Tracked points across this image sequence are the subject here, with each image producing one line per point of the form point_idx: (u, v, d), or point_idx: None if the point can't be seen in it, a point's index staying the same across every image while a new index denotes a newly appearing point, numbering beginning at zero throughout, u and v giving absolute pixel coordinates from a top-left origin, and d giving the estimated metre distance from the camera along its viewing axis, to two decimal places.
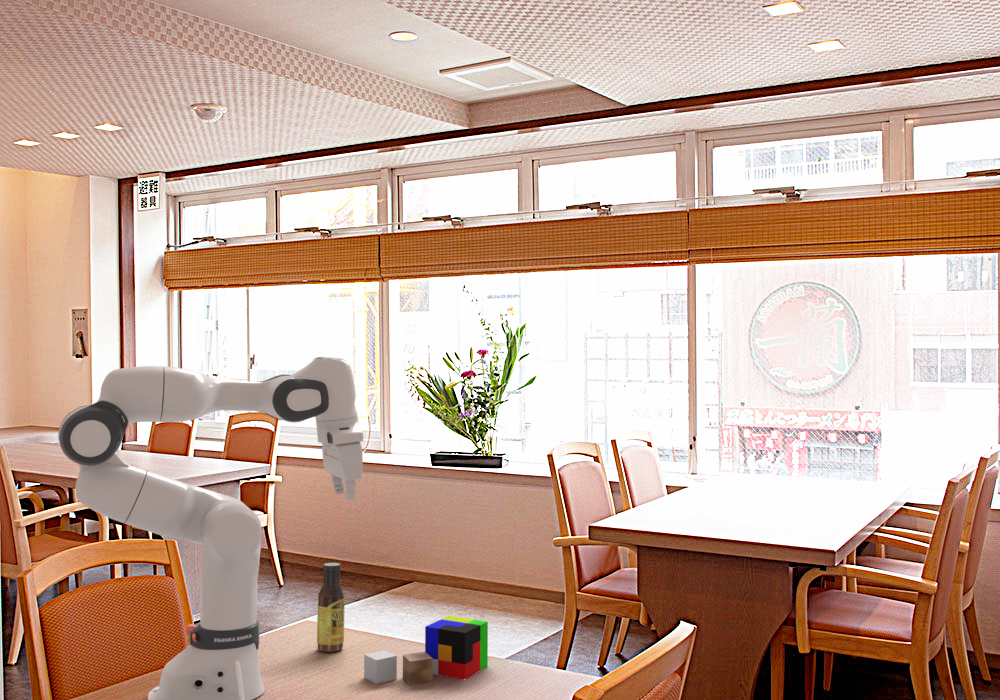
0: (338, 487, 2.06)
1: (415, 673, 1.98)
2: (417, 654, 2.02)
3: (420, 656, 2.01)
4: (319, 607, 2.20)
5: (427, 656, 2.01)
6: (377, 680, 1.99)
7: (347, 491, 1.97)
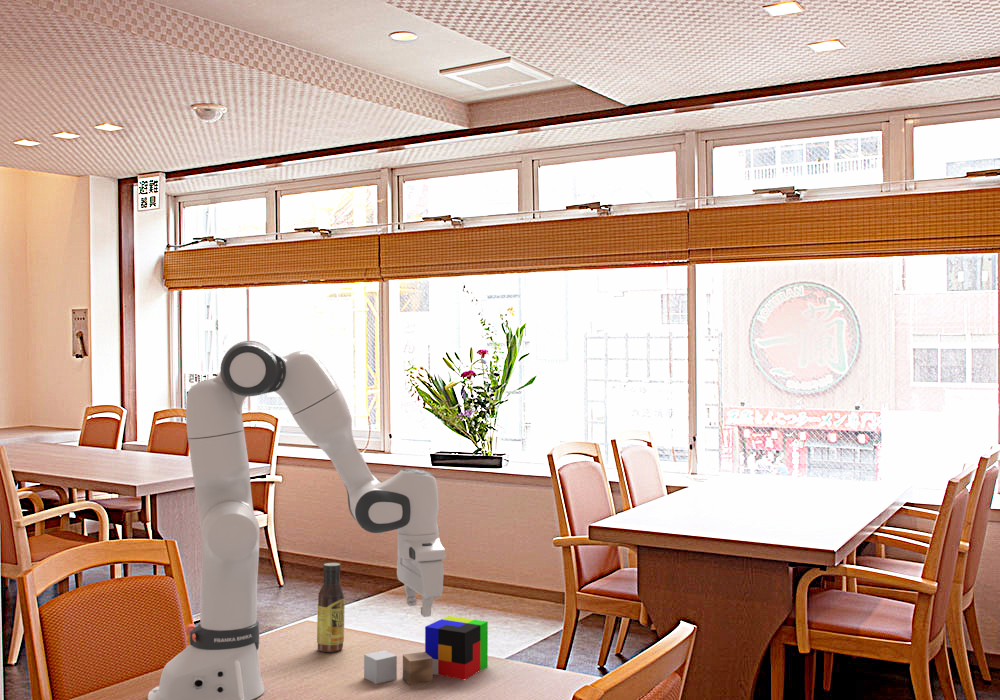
0: (411, 599, 2.05)
1: (415, 673, 1.98)
2: (417, 654, 2.02)
3: (420, 655, 2.01)
4: (319, 607, 2.20)
5: (427, 656, 2.01)
6: (377, 680, 1.99)
7: (424, 608, 1.96)
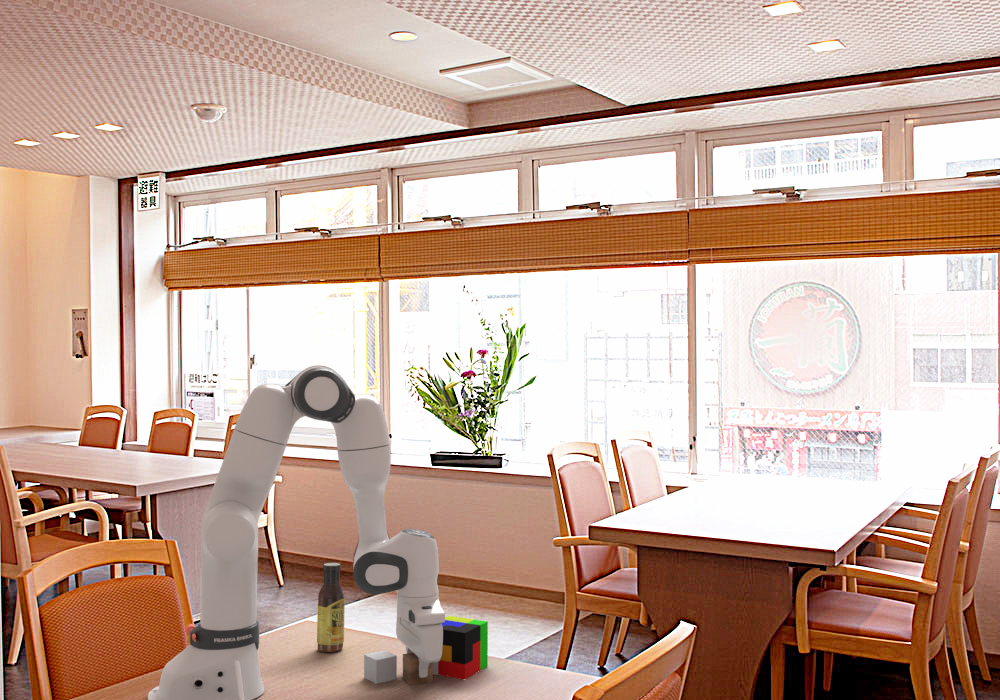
0: None
1: (415, 672, 1.98)
2: None
3: None
4: (319, 607, 2.20)
5: None
6: (377, 680, 1.99)
7: (420, 668, 1.97)
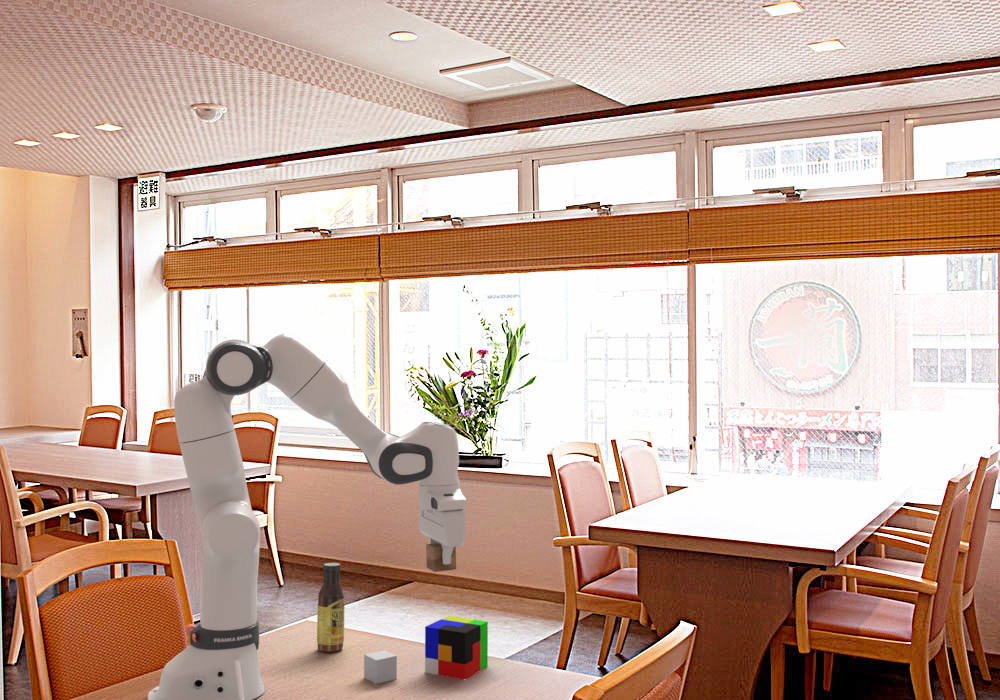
0: None
1: (439, 560, 2.02)
2: (440, 544, 2.06)
3: None
4: (319, 607, 2.20)
5: None
6: (377, 680, 1.99)
7: (444, 555, 2.01)
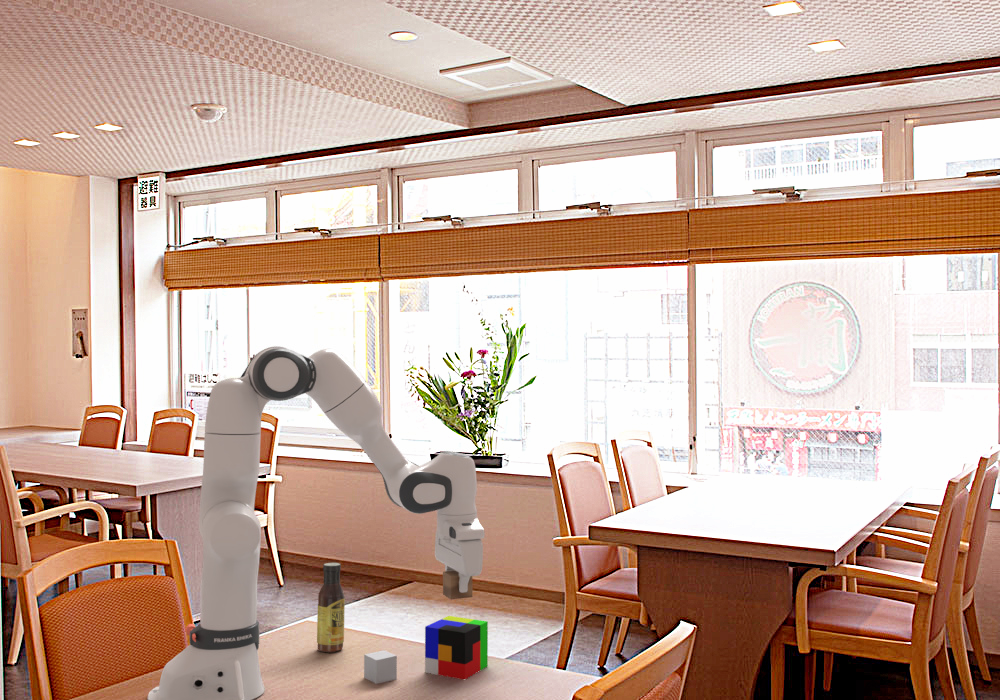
0: None
1: (455, 588, 2.05)
2: (456, 571, 2.09)
3: None
4: (319, 607, 2.20)
5: None
6: (377, 680, 1.99)
7: (461, 584, 2.04)
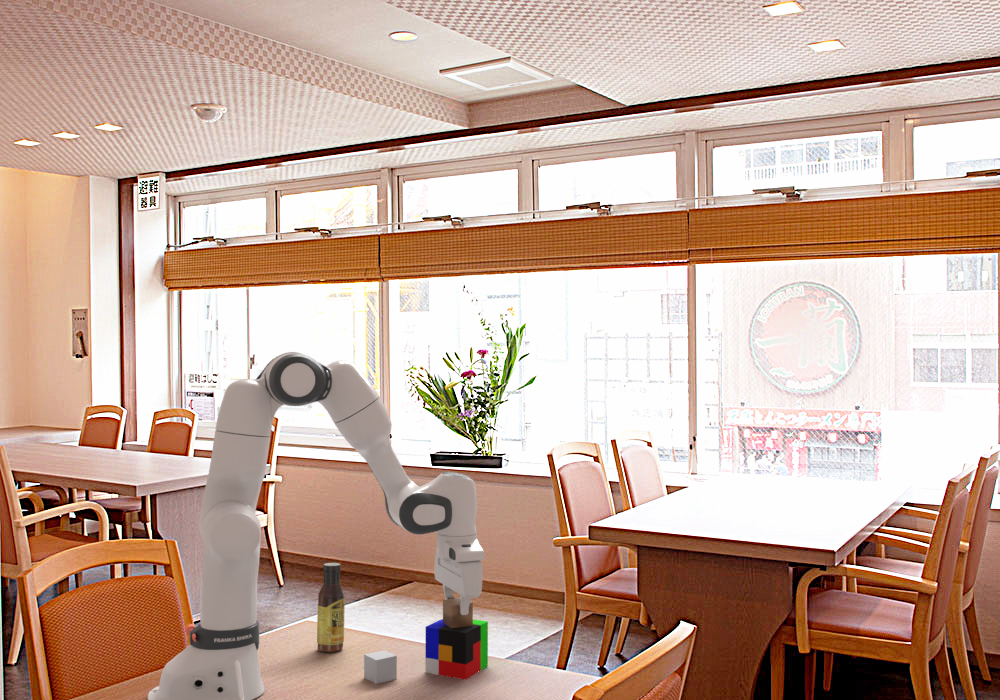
0: None
1: (456, 616, 2.05)
2: (456, 600, 2.09)
3: (459, 600, 2.08)
4: (319, 607, 2.20)
5: None
6: (377, 680, 1.99)
7: (462, 606, 2.03)
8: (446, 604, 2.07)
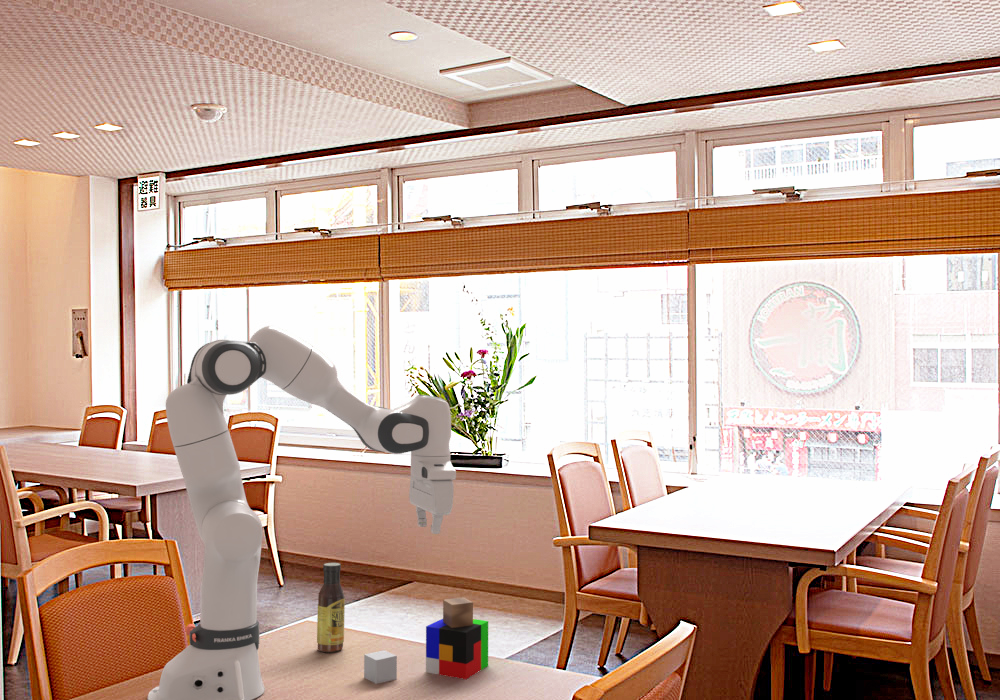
0: (422, 520, 2.16)
1: (456, 616, 2.05)
2: (457, 599, 2.09)
3: (460, 600, 2.09)
4: (319, 607, 2.20)
5: (467, 600, 2.08)
6: (377, 680, 1.99)
7: (434, 525, 2.07)
8: (446, 604, 2.07)
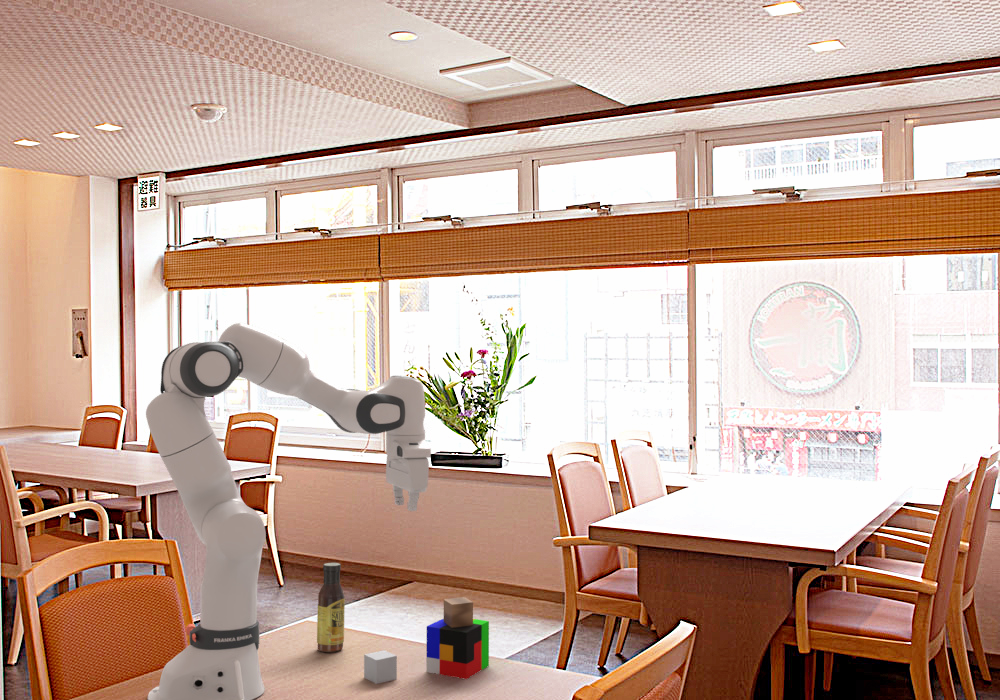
0: (399, 499, 2.20)
1: (456, 616, 2.06)
2: (457, 599, 2.10)
3: (460, 600, 2.09)
4: (319, 607, 2.20)
5: (467, 600, 2.08)
6: (377, 680, 1.99)
7: (410, 502, 2.11)
8: (447, 603, 2.08)
